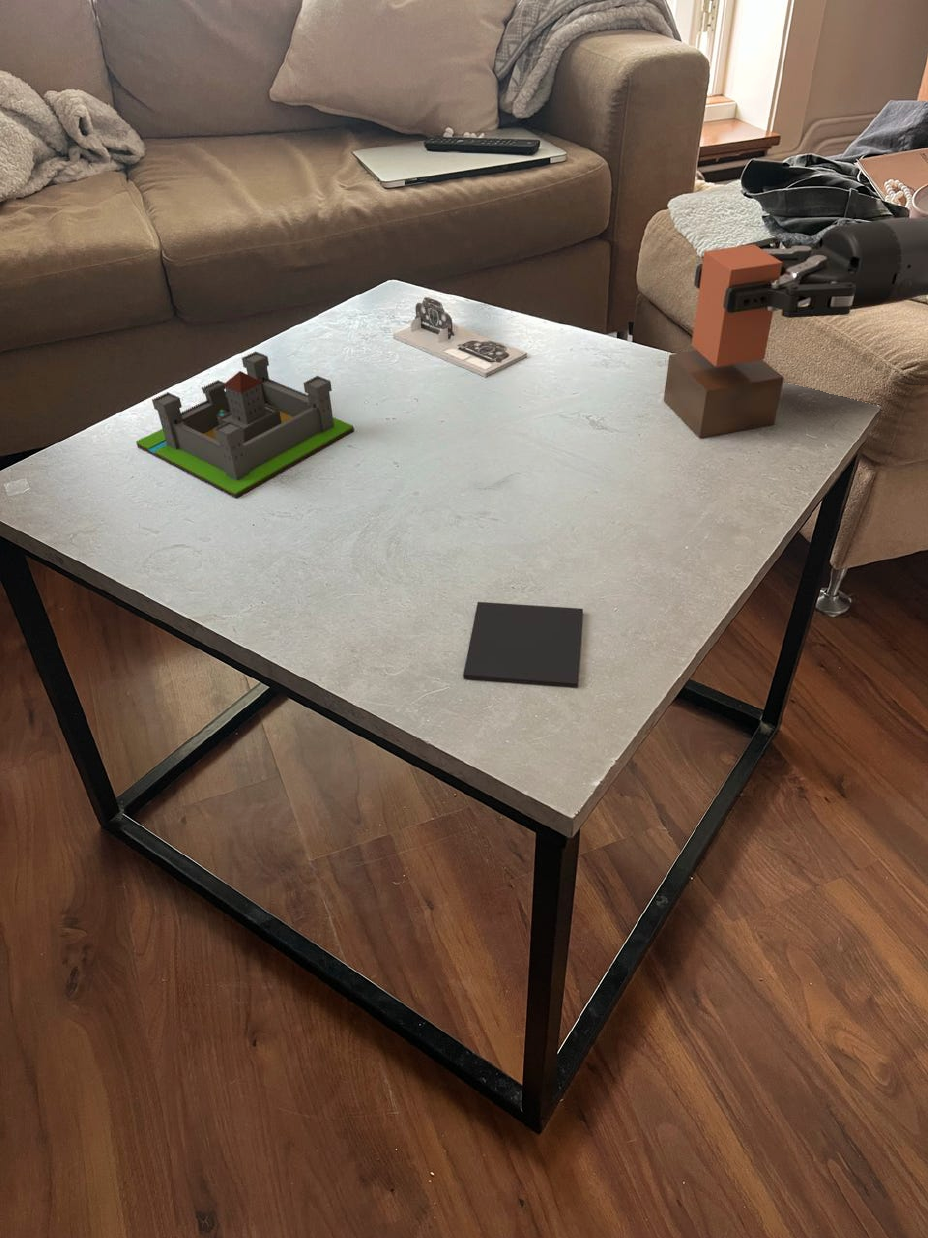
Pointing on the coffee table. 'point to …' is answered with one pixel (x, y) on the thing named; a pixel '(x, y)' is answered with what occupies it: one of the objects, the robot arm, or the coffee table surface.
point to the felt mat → (525, 644)
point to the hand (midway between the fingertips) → (712, 288)
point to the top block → (740, 331)
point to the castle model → (245, 428)
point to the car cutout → (456, 341)
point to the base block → (721, 394)
